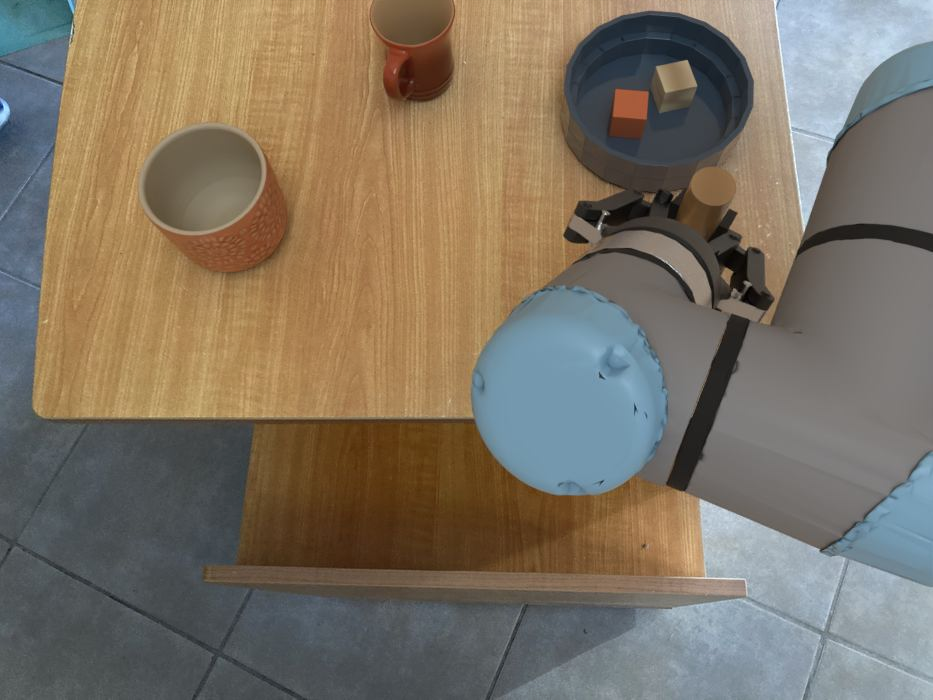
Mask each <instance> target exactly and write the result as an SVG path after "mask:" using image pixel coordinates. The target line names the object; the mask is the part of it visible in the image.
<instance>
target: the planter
mask: <svg viewBox="0 0 933 700" xmlns="http://www.w3.org/2000/svg"><path fill="white" fill-rule="evenodd" d="M137 196H138V200H139V204H140V206H141V209H142V211H143V212H144V214H145V215H146V217H147V218H148V220H149V221H150V222H151V224H152V225H153V226H154V227H155V228H156V229H157V230H158V231H159V232H160V233H161V234H162V235H163V236H164V237H165V238H166V239H167V240H168V241H169V242H170V243H171V244H172V245H174V246H175V247H176V249H177V250H178V251H179V252H180V253H181V254H182V255H184V256H185V257H186V258H187V259H188V260H190V261H191V262H193V263H195V264H196V265H197V266H200V267H202V268H204V269H207V270H210V271H215V272H221V273H231V272H233V273H234V272H240V271H244V270H247V269H250V268H252V267H254V266H256V265H258V264H260V263H262V262H263V261H265V260H266V259H267V258H268V257H269V256H271V255H272V254H273V252H275V250H276V249H277V248H278V246H279V244H280V243H281V241H282V239H283V237H284V234H285V231H286V228H287V222H288V208H287V203H286V202H287V201H286V199H285V196H284V192H283V190H282V188H281V185H280V184H279V181H278V179H277V176H276V174H275V172H274V169H273V167H272V165H271V163H270V161H269V158H268V156H267V154H266V152H265V151H264V149H263V148H262V146H261V145H260V144H259V142H258V141H257V140H256V139H255V138H254V137H253V136H252V135H251V134H250V133H248V132H247V131H245V130H244V129H242V128H240V127H238V126H236V125H233V124H229V123H225V122H220V121H219V122H218V121H205V122H197V123H193V124H189V125H186V126H183V127H180V128H178V129H176V130H174V131H173V132H171V133H169V134H167V135H166V136H165V137H164V138H162V139H161V140H159V142H157V144H155V145H154V147H153V148H152V149H151V150H150V152H149V153H148V154H147V155H146V157H145V159H144V161H143V163H142V165H141V167H140V171H139V173H138V177H137Z"/></svg>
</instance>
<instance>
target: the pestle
mask: <svg viewBox="0 0 933 700" xmlns="http://www.w3.org/2000/svg"><path fill="white" fill-rule="evenodd" d="M736 194H737V182H736V180H735V178H734V176H733V175H732V174H731V173H730V172H729V171H727V170H725V169H724V168H722V167H719V168H718V167H705V168H703V169H700V170H699V171H697V172H696V173H695V174H694V175H693V177H692V179H691V181H690V184H689V186H688V187H687V191H686V193H685V195H684V198H683V200H682V202H681V205H680V207H679V209H678V212H677V214H676V217H675V219H674V220H676V221H679V222H681V223H683V224H685V225H687V226H689V227H690V228H692V229H693V230H695V231H696V232H697V233H699V234H700V235H701V236H702V237H703V238H704V239H705V241H706V242H707V243H708V242H709V241H710V239H711V237H712V236H713V234H714V232H715V231H716V229H717V227H718V226H719V224H720V222H721V220H722V219H723V217H724V216H725V214H726V213H727V211H728V210H729V208H730V206H731V204H732V202H733V200H734V198H735V196H736Z"/></svg>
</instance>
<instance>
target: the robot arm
mask: <svg viewBox="0 0 933 700" xmlns="http://www.w3.org/2000/svg"><path fill="white" fill-rule="evenodd" d="M825 160H826V161H825V166H826V167H825V170H824V172H823V175H822V178H821V182H820V184H819V187H818V191H817V193H816V196H815V198H814V201H813V205H812V207H811V211H810V213H809V217H808V219H807V223H806V224H805V225H806V226H805V228H804V232H803V235H802V237H801V240H800V243H799V246H798V248H797V251H796V254H795V257H794V260H793V262H792V265H791V267H790V268H789V269H790V270H789V272H788V275H787V278H786V280H785V283H784V284H783V289H782V290H781V293H780V295H779V299H778V301H777V304H776V307H775V310H774V312H773V315H772V318H771V321H770V323H769V324H767V323H762V321H763V319H764V318H765V316H766V314H767V313H768V311H769V309H770V308H771V307H772V305H773V303H774V302H775V301H776V299H775V297H774V295H773V294H772V292H771V291H770V290H769V288H768V287H767V285H766V260H765V259H766V255H765V253H764V252H763V251H762V249H760V248H758V247H756V246H754V247H753V246H748V247H747V248H746V249H744V248H743V247H741V245H740V244H741V242H742V239H743V236H742V234H740V233H739V232H736V231H734V230H733V229H731V228H730V227H731V226H732V224H733V222H735V219H736V217H737V216H738V214H739V212H738V211H735V210H733V209H731V208H728V209H727V211H726V213H725V215H724V216H723V218H722V220H721V222H720V224H719V226H718V227H717V229H716V231H715V232H714V234H713V236H712V237H711V239H710V241H709V242H708V243H707V242H706V241H705V239H704V238H703V237H702V236H701V235H700V234H699V233H697V232H696V231H695V230H693V229H692V228H690V227H689V226H687V225H685V224H683V223H681V222H679V221H676V220H674V219H675V217H676V214H677V212H678V209H679V207H680V205H681V202H682V200H683V198H684V195H685V193H686V191H687V188H688V187H687V188H683V190H682V191H680V192H679V194H678V195H676V197H675V194H674V193H672V192H671V191H667V190H665V189H661V188H659V189H658V191H657V192H655V195H654V197H653V199H652V201H651V202H650V201H647V200H645V199H644V198H645V196H646V195H645V194H644V193H643V192H642V191H640V190H638V189H627V188H626V189H625V190H622V191H620V192H617V193H615V194H613V195H610V196H607V197H604V198H603V199H599V200H578V202H577V204H576V206H575V208H574V210H573V212H572V215H571V216H570V219H569V220H568V223H567V226H566V228H565V230H564V232H563V235H562V237H563V238H564V239H565V240H566V241H567V242H569V243H571V244H577V245H583V244H584V245H587V246H588V247H589V248H588V249H587V250H586V251H585V252H583V253H582V254H581V255H580V256H579V257H578V258H576V260H575V261H574V262H573V263H572V264H570V265H569V266H568V267H567V268H565V269H564V270H563V271H562V272H561V273H559V274H557V276H556V277H553V279H551V280H550V281H549V282H547V283H546V284H545V285H544V286H542V287H541V288H540V289H538V290H536V291H534V292H532V293H531V294H530V295H527V296H525V297H524V298H523V299H522V301H521V302H519V303H518V304H517V305H515V306H514V307H513V308H512V310H511V311H510V313H509V315H508V316H507V318H506V319H505V320H504V321H503V322H502V323H501V324H499V326H498V327H497V328H496V329H495V330H494V332H493V334H492V335H491V337H490V338H489V339H488V340H487V342H486V343H485V344H484V345H483V347H482V349H481V351H480V353H479V355H478V358H477V360H476V363H475V365H474V368H473V370H472V374H471V384H470V385H471V386H470V404H471V411H472V414H473V418H474V419H473V420H474V423H475V425H476V429H477V430H478V433H479V435H480V437H481V439H482V441H483V443H484V444H485V446H486V447H487V449H488V450H489V452H490V453H491V455H492V456H493V458H495V459H496V461H497V462H498V463H499V464H500V465H501V466H502V467H503V468H504V469H505V470H506V471H507V472H508V473H510V474H511V475H512V476H513V477H515V478H516V479H518V480H519V481H521V482H522V483H524V484H525V485H527V486H529V487H531V488H533V489H535V490H538V491H541V492H543V493H547V494H551V495H554V496H589V495H591V496H598V495H602V494H604V493H609V492H610V491H612V490H614V489H616V488H618V487H620V486H622V485H623V484H625V483H626V482H628V481H629V480H630V479H632V477H633V476H634V477H637V478H639V479H641V480H644V481H647V482H649V483H652V484H654V485H656V486H659V487H661V488H663V489H665V487H666V486H667V487H669V488H671V489H674V490H676V491H679V492H683V493H685V494H688V495H690V496H691V497H695V498H697V499H698V500H699V499H700V500H702V501H704V502H707V503H709V504H710V505H711V504H712V505H714V506H715V507H719V508H721V509H722V510H723V509H724V510H726V511H728V512H731V513H732V514H736V515H739V516H741V517H743V518H745V519H748V520H750V521H751V522H755V523H757V524H758V525H762V526H764V527H767V528H768V529H771V530H773V531H775V532H778V533H780V534H783V535H785V536H788V537H790V538H792V539H794V540H797V541H799V542H801V543H804V544H807V545H809V546H811V547H813V548H815V549H818V550H819V551H818V552H819V553H820V554H822V555H825V556H827V557H829V558H830V557H842V558H845V559H848V560H850V561H853V562H856V563H859V564H862V565H865V566H867V567H871V568H873V569H876V570H879V571H881V572H885V573H887V574H891V575H892V576H896V577H898V578H902V579H903V580H907V581H910V582H912V583H916V584H918V585H922V586H924V587H927V588H928V587H929V588H933V40H930V41H927V42H922V43H918V44H915V45H912V46H909V47H907V48H905V49H902V50H901V51H899V52H897V53H895V54H893V55H891V56H890V57H888V58H887V59H885V60H884V61H882V62H881V63H880V64H879V65H878V66H876V67H875V68H874V69H873V71H871V73H870V74H869V75H868V77H866V79H865V80H864V81H863V82H862V84H861V86H860V88H859V90H858V92H857V95H856V96H855V99H854V101H853V103H852V106H851V108H850V111H849V113H848V115H847V117H846V120H845V122H844V125H843V126H842V129H841V130H840V131H839V132H838V133H837V134H836V135H835V138H834V141H833V145H832V147H831V148H830V149H829V150H828V152H827V154H826V159H825ZM674 197H675V198H674ZM725 269H728V270H729V271H731V272H732V273H731V275H730V280H729V283H728V282H727V281H726V280H725V279H724V278H723V276H722V274H723V273H724V271H725Z"/></svg>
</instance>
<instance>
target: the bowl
mask: <svg viewBox="0 0 933 700" xmlns="http://www.w3.org/2000/svg"><path fill="white" fill-rule="evenodd" d="M684 60H688V63H689V65H690V68H691V70H692V73H693V76H694V78H695V81H696V84H697V89H696V92H695V94H694V97H693V100H692V103H691V105H690V107H687V108H682V109H677V110H673V111H668V112H663V113H659V112H658V109H657V106H656V103H655V100H654V98H653V95H652V92H651V89H650V86H651V82H652V79H653V75H654V71H655V68H656V66H660V65H665V64H670V63H675V62H680V61H684ZM563 84H564V85H563V92H562V101H561V102H562V103H561V110H560V111H561V112H560V121H561V125H562V130H563V133H564V137H565V140H566V143H567V144H568V146H569V147H570V149H571V150H572V152H573V153H574V155H575V156H576V158H577V159H578V161H579V162H580V163H581V164H582V165H584V167H586V168H588V170H591V171H592V172H593V173H594V174H595V175H597V176H598V177H599V178H600V179H602V180H603V181H606V182H609V183H611V184H614V185H616V186H619V187H622V188H624V189H626V190H627V189H638V190H640V191H641V192H648V193H657V191H658V189H659V188H661V189H665V190H667V191H669V192H671V191H674V190H675V191H677V190H682V189H685V188H688V186H689V184H690V181H691V179H692V177H693V175H694V174H695V173H696V172H697V171H699V170H700V169H703V168H705V167H718V168H721V166H722V165H723V164H724V163H725V162H727V161H728V159H730V157H731V155H732V153H733V151H734V149H735V148H736V145H737V143H738V141H739V139H740V137H741V135H742V133H743V132H744V129H745V126H746V124H747V121H748V120H749V117H750V115H751V113H752V111H753V108H754V97H755V96H754V94H755V80H754V77H753V75H752V73H751V69H750V67H749V64H748V61H747V59H746V57H745V56H744V54H743V53H742V52H741V51H740V49H739V48H738V47H737V46H736V44H735V43H734V41H733V40H732V39H731V38H730V37H729V36H728V35H726V34H725V33H723V32H722V31H721V30H718V29H717V28H715V26H713V25H712V24H710V23H708V22H706V21H704V20H702V19H698V18H696V17H692V16H690V15H686V14H683V13H681V12H677V11H676V12H674V11H662V10H660V11H659V10H644V11H638V12H632V13H627V14H621V15H619V16H617V17H615V18H613V19H610V20H608V21H606V22H605V23H602V24H600V25H598V26H597V27H595V28H594V29H593V30H592V31H591V32H590V33H588V34H587V35H586V37H584V38H583V39H582V40H581V41H580V42H579V43H578V44H577V46H576V47H575V49H574V51H573V53H572V54H571V57H570V58H569V61H568V62H567V64H566V69H565V75H564V83H563ZM615 89H622V90H634V91H645V92H649V95H648V109H647V120H646V123H645V127H644V130H643V134H642V137H641V139H634V138H623V137H612V136H609V125H610V114H611V107H612V102H613V98H614V93H615Z"/></svg>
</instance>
